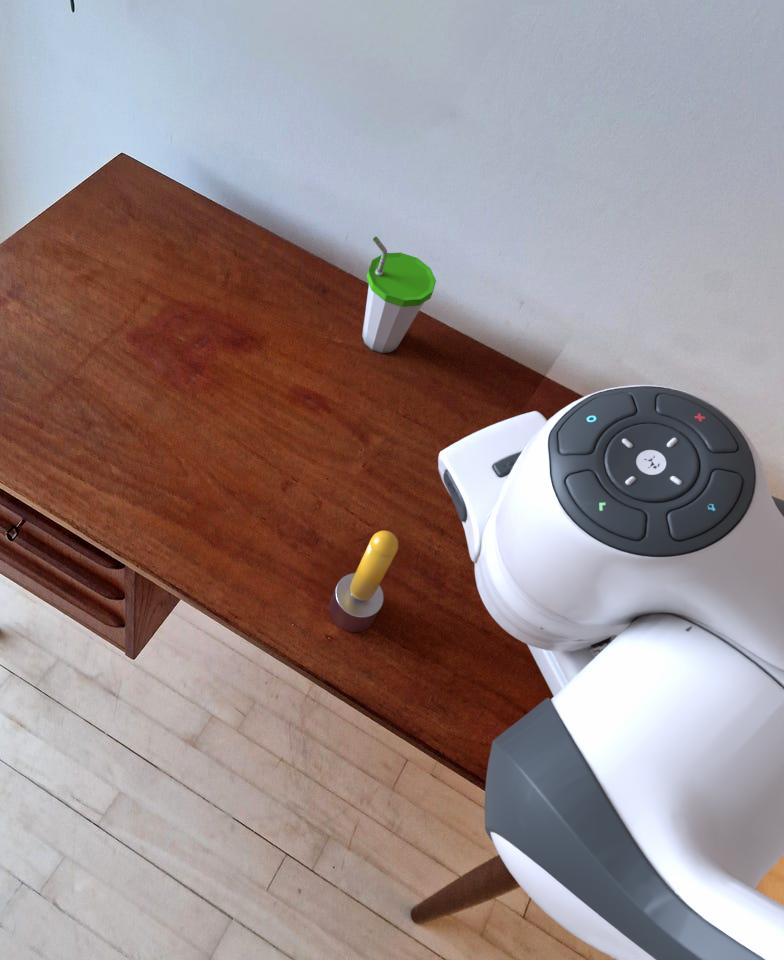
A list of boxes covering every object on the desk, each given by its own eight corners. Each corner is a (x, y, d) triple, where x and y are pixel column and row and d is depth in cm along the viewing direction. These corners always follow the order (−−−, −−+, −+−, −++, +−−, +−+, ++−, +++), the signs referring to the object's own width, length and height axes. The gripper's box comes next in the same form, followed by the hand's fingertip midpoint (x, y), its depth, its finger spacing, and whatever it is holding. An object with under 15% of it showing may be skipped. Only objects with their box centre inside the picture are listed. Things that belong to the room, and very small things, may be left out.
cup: (422, 337, 104) (461, 242, 92) (391, 373, 100) (427, 279, 88) (369, 306, 106) (400, 209, 93) (337, 340, 101) (364, 243, 89)
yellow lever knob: (384, 610, 82) (425, 538, 71) (355, 641, 80) (393, 572, 68) (348, 580, 83) (382, 504, 72) (319, 610, 81) (349, 537, 69)
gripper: (722, 727, 41) (640, 736, 55) (525, 385, 48) (494, 467, 61) (607, 779, 41) (552, 777, 54) (424, 428, 48) (415, 501, 61)
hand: (520, 610), depth 58 cm, fingers closed
